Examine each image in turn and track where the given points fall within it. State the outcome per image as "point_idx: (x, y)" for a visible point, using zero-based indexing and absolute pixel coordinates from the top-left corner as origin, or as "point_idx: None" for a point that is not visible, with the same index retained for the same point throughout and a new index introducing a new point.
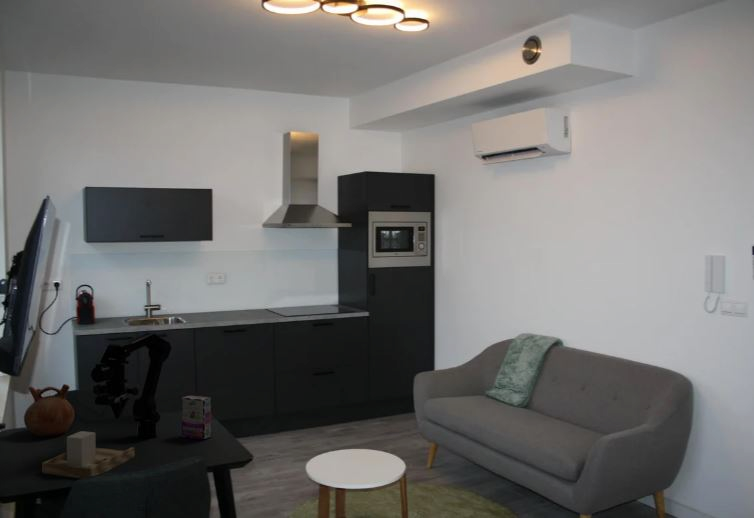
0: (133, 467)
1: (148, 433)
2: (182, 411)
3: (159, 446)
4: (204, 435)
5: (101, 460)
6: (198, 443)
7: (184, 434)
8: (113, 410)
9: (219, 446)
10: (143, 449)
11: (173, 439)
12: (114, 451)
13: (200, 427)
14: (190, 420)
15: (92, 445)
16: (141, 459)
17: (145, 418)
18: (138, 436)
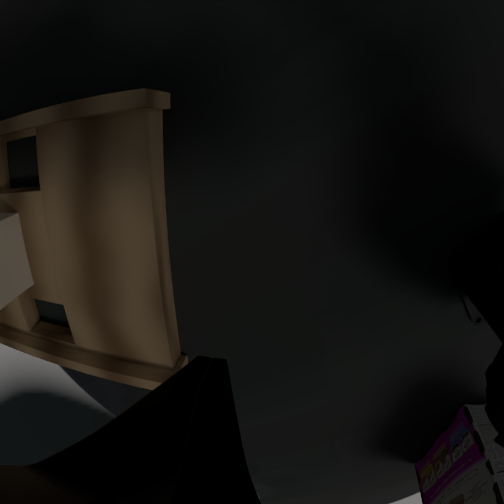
0: (107, 393)
1: (476, 307)
2: (494, 491)
3: (346, 393)
4: (418, 477)
5: (49, 300)
6: (387, 464)
7: (459, 422)
8: (121, 427)
9: (357, 498)
10: (292, 357)
11: (442, 392)
12: (139, 301)
13: (428, 492)
14: (458, 487)
15: None
16: None
17: (490, 378)
18: (469, 247)
